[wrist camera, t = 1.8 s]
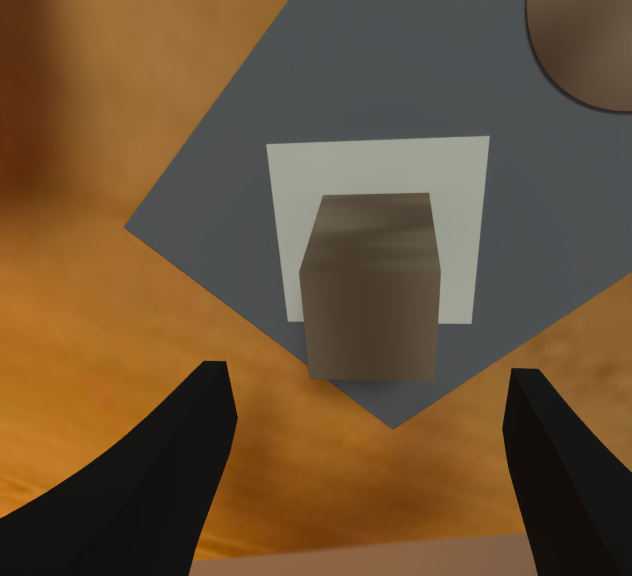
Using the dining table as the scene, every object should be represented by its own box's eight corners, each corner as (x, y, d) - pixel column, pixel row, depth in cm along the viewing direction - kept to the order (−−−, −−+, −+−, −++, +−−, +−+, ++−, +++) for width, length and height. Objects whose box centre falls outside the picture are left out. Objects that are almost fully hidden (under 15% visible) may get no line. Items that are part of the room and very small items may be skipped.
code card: (288, 320, 24) (287, 322, 24) (266, 144, 20) (265, 145, 19) (471, 322, 22) (471, 324, 22) (489, 136, 18) (489, 137, 18)
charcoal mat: (985, 35, 15) (988, 35, 15) (393, 428, 26) (393, 429, 26) (668, -521, 11) (670, -524, 11) (124, 226, 22) (124, 227, 22)
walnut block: (429, 192, 20) (440, 272, 14) (425, 284, 22) (434, 382, 17) (323, 194, 20) (298, 272, 15) (329, 284, 22) (309, 378, 17)
